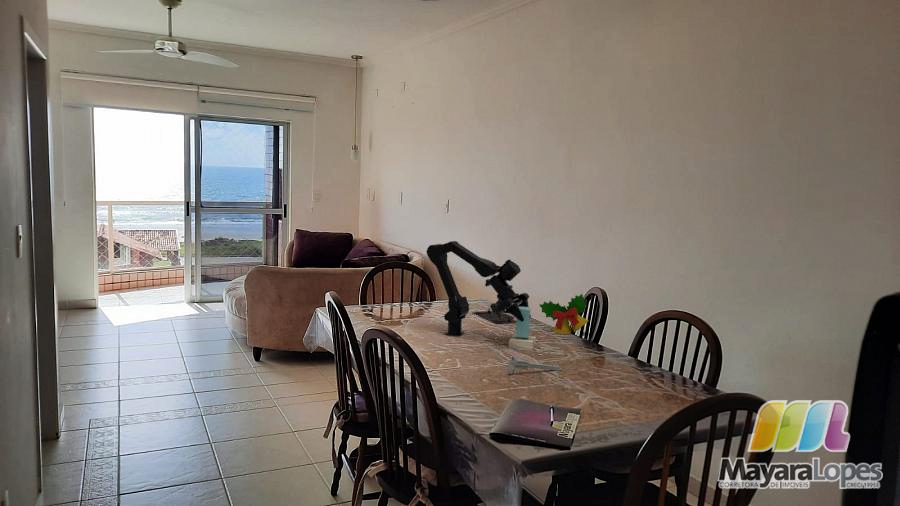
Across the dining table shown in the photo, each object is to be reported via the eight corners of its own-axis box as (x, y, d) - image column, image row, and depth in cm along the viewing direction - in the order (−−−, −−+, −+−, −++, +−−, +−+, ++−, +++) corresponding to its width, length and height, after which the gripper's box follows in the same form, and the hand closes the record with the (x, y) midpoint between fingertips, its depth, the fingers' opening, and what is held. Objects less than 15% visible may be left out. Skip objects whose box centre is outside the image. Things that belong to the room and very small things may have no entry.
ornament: (545, 342, 274) (532, 310, 270) (549, 332, 281) (537, 302, 278) (592, 333, 264) (580, 300, 260) (596, 324, 271) (584, 291, 267)
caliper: (508, 375, 210) (509, 357, 209) (507, 374, 211) (508, 356, 210) (563, 370, 217) (564, 352, 217) (561, 369, 218) (562, 351, 218)
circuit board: (471, 314, 306) (471, 307, 306) (497, 312, 312) (497, 306, 312) (496, 325, 283) (496, 318, 283) (524, 323, 289) (524, 316, 289)
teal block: (516, 333, 250) (517, 306, 248) (528, 334, 249) (530, 307, 248) (515, 336, 245) (517, 309, 243) (528, 337, 244) (530, 309, 243)
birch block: (513, 343, 253) (513, 334, 253) (535, 345, 250) (535, 336, 250) (508, 348, 244) (509, 339, 244) (531, 351, 242) (532, 342, 241)
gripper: (499, 297, 261) (522, 327, 257) (478, 304, 245) (502, 336, 241) (517, 280, 256) (541, 311, 252) (496, 286, 240) (521, 319, 236)
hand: (526, 319), depth 245 cm, fingers closed on teal block, 6 cm apart
